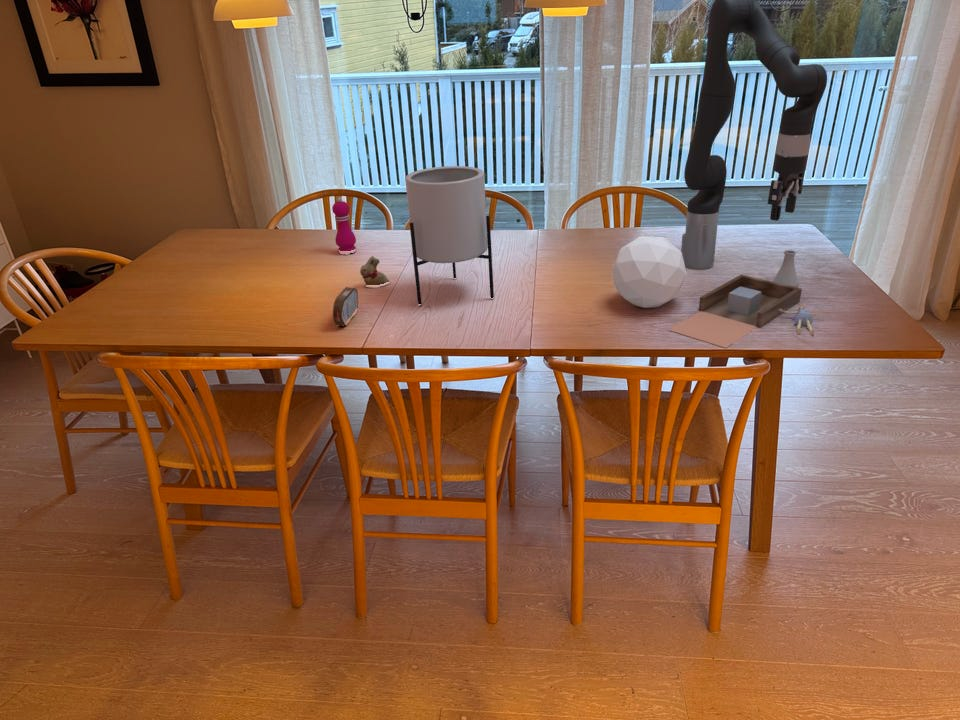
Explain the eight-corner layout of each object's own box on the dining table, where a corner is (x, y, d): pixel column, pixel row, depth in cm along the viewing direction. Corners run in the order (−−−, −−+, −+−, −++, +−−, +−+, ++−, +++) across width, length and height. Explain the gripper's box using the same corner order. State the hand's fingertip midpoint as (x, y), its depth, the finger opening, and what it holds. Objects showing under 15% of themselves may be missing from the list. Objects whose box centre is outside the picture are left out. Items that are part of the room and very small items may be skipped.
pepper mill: (341, 249, 252) (332, 194, 243) (360, 249, 251) (352, 194, 242) (334, 255, 246) (325, 200, 237) (354, 255, 245) (346, 199, 236)
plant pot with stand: (441, 276, 220) (431, 163, 204) (510, 285, 210) (505, 166, 194) (402, 304, 202) (387, 182, 185) (475, 315, 192) (466, 186, 175)
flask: (801, 289, 194) (806, 256, 190) (773, 289, 196) (778, 255, 191) (796, 280, 201) (801, 247, 196) (769, 280, 202) (774, 247, 198)
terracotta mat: (668, 330, 176) (668, 329, 176) (700, 311, 185) (701, 310, 185) (725, 348, 165) (726, 347, 165) (757, 327, 174) (757, 326, 174)
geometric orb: (665, 328, 193) (707, 285, 177) (601, 312, 187) (639, 267, 172) (656, 276, 203) (696, 231, 188) (595, 259, 198) (631, 212, 182)
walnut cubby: (698, 310, 186) (699, 297, 184) (739, 287, 198) (741, 274, 196) (760, 328, 174) (762, 313, 172) (799, 302, 187) (801, 288, 185)
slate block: (726, 310, 184) (728, 293, 182) (738, 303, 188) (740, 286, 186) (748, 316, 180) (750, 298, 178) (759, 309, 184) (761, 291, 182)
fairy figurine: (782, 322, 169) (778, 298, 178) (779, 338, 172) (775, 314, 181) (833, 324, 166) (826, 300, 175) (829, 341, 169) (823, 317, 178)
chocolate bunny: (367, 282, 220) (363, 252, 215) (391, 282, 218) (387, 252, 214) (361, 288, 215) (357, 257, 211) (385, 289, 214) (381, 258, 209)
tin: (351, 309, 201) (347, 282, 197) (361, 309, 200) (358, 282, 196) (334, 331, 187) (329, 302, 184) (345, 331, 187) (340, 302, 183)
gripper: (789, 145, 178) (780, 207, 186) (764, 155, 169) (755, 220, 177) (819, 148, 173) (808, 212, 181) (794, 159, 165) (784, 225, 172)
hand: (782, 216), depth 179 cm, fingers open, 8 cm apart
